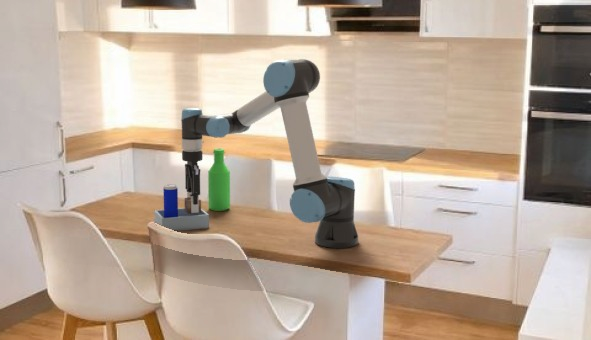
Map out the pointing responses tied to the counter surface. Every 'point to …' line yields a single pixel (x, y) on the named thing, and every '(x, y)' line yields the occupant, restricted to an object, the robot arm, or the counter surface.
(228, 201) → the bottle
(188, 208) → the walnut cube
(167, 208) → the beverage can
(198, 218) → the box
